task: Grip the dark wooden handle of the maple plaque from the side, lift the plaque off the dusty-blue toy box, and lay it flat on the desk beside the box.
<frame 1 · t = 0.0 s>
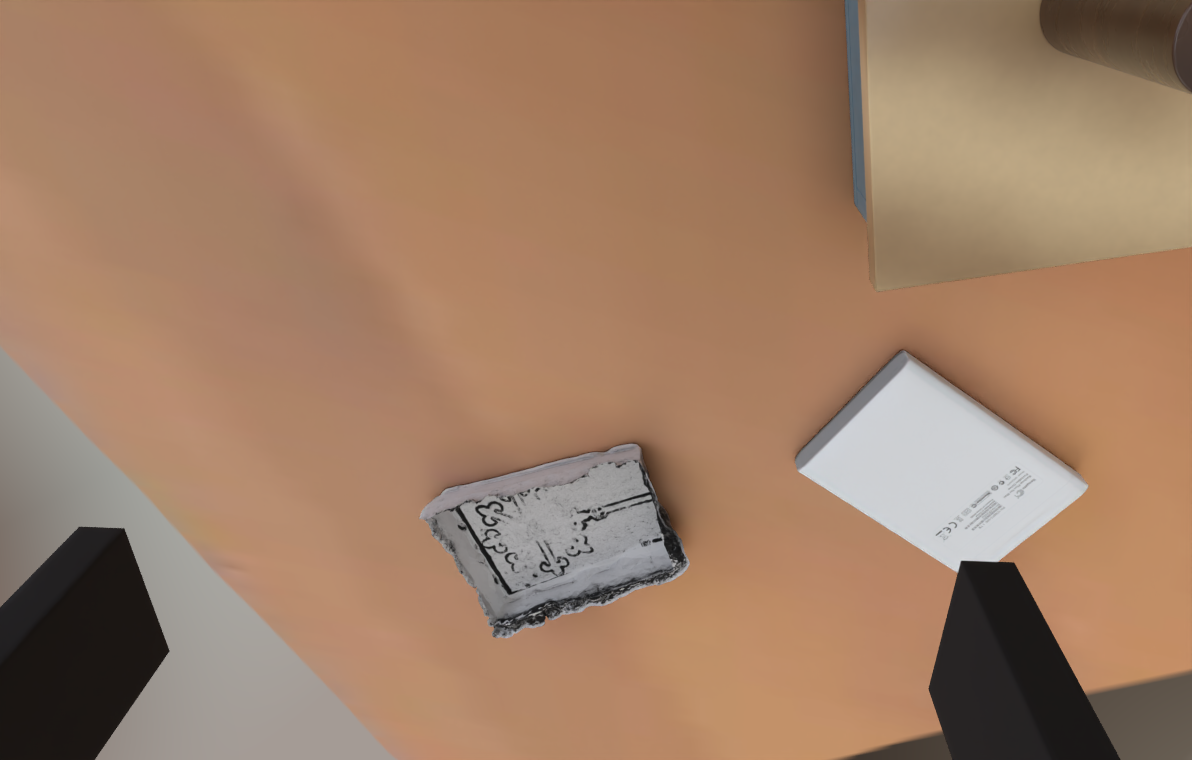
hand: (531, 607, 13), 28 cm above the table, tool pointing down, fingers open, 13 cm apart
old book: (565, 522, 48), on the table
hard drive: (933, 461, 44), on the table
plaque: (1073, 1, 27), point 7 cm above the table, touching toy box
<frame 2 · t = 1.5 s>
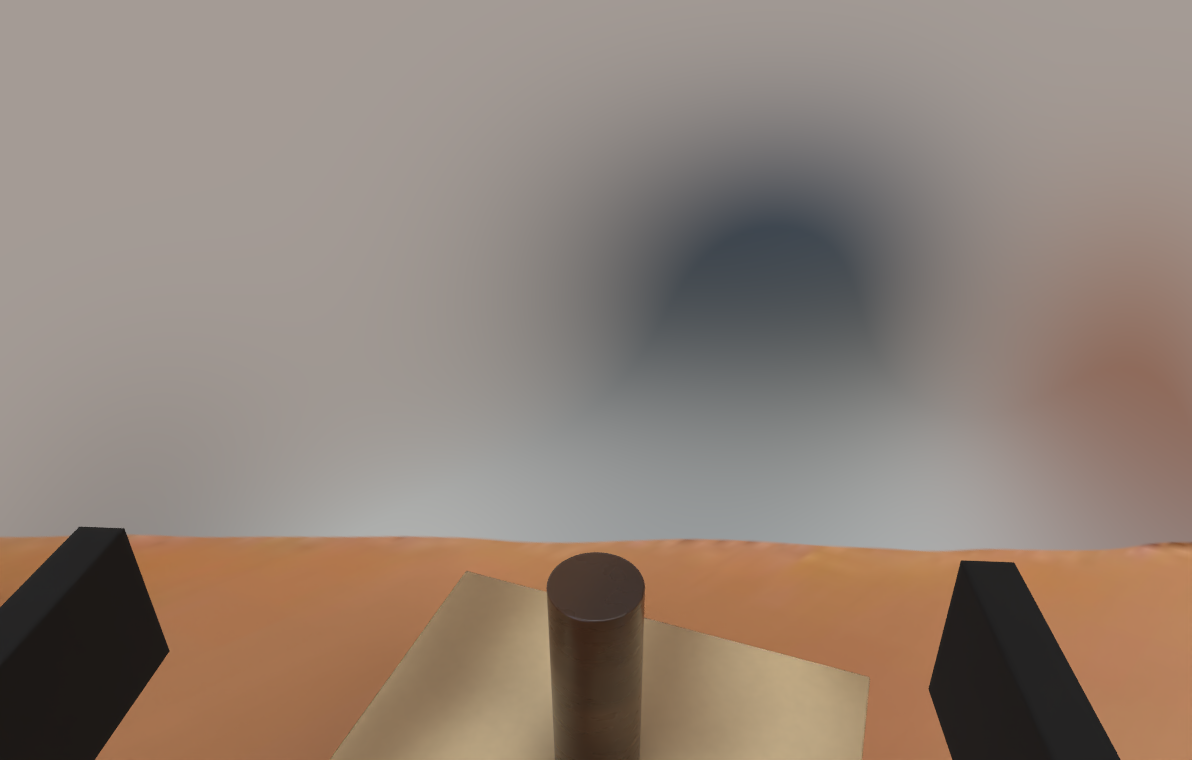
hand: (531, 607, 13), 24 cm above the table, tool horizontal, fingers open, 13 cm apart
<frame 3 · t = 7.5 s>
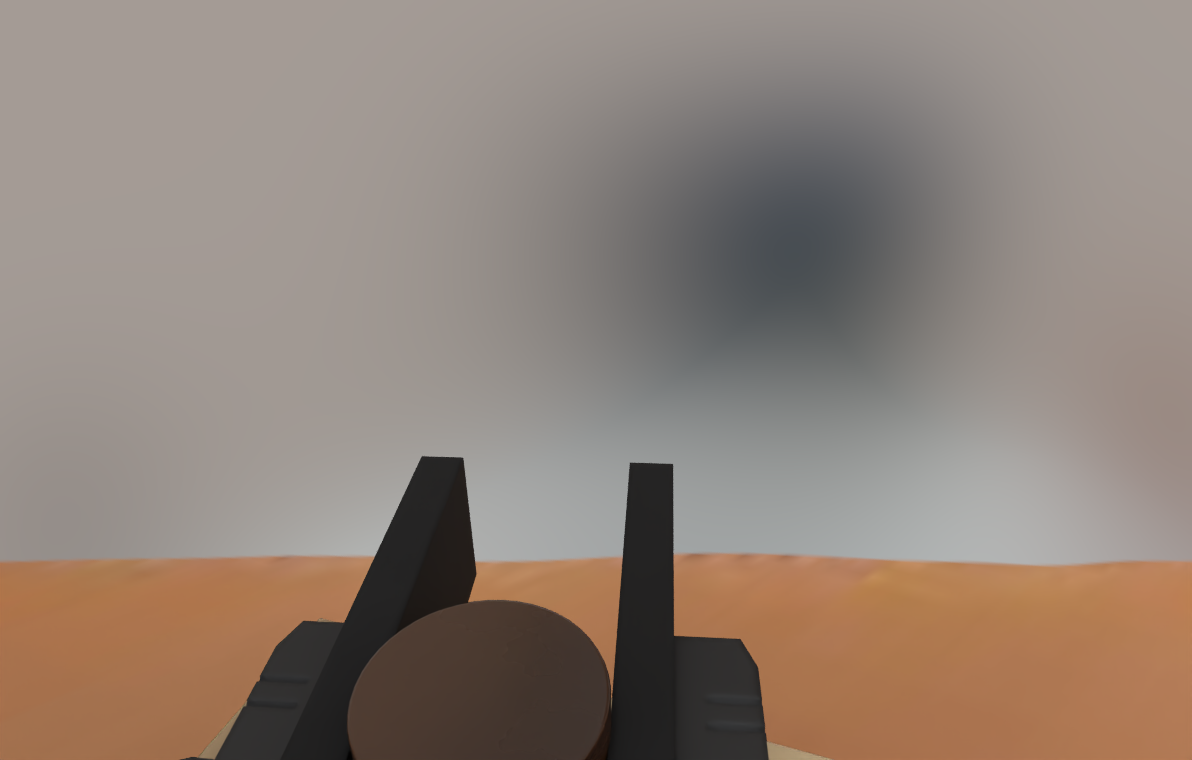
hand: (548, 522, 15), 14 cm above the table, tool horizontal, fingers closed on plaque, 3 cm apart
when the fingers open (7 cm above the table, at t = 16.8 s): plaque stays where it is, on the table.
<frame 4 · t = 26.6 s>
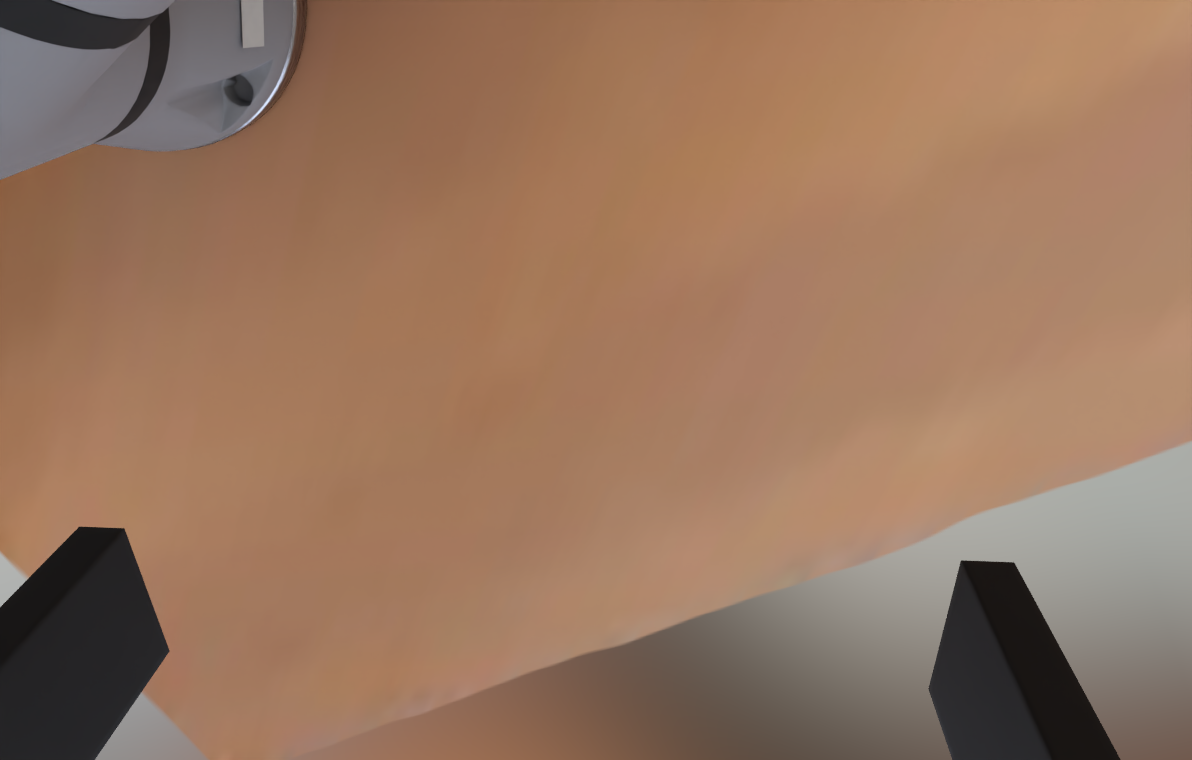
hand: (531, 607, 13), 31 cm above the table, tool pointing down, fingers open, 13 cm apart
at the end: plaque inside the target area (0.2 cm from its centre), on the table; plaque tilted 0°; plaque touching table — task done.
